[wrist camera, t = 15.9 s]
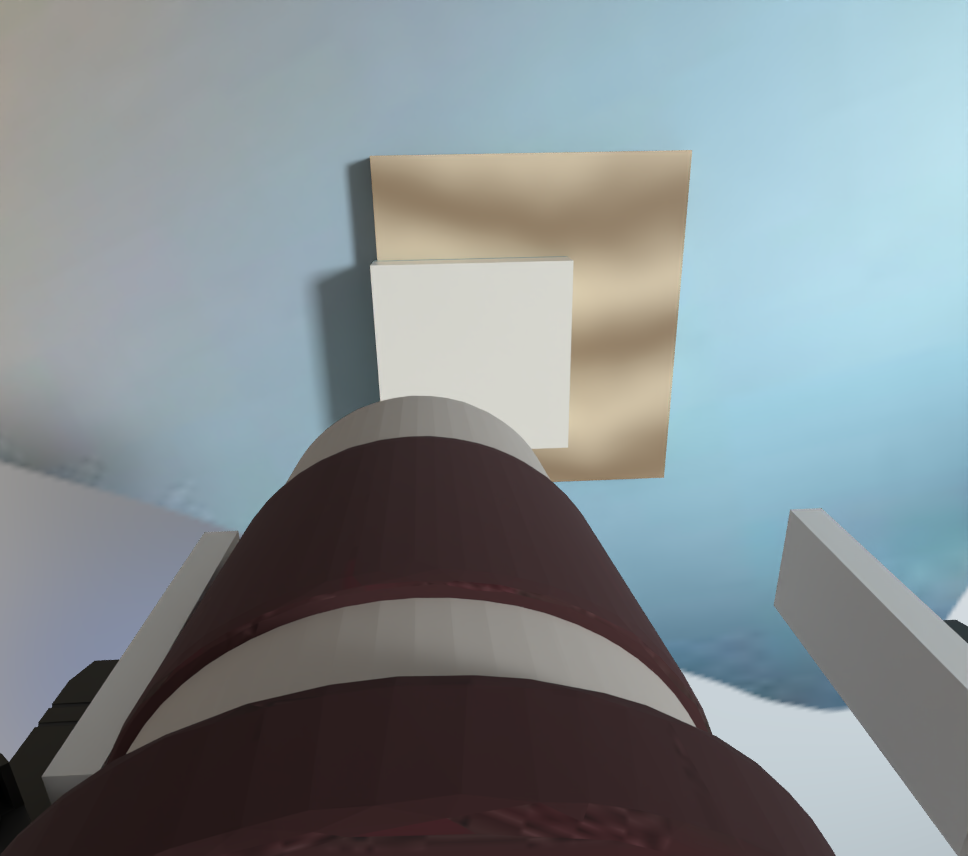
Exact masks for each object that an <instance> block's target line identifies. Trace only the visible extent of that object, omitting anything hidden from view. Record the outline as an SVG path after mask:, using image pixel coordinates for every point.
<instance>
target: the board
mask: <svg viewBox="0 0 968 856" xmlns="http://www.w3.org/2000/svg"><path fill="white" fill-rule="evenodd" d="M691 157H692V150H678V151H621V152H564V153H507V154H451V155H394V156H370V166H371V180H372V193H373V207H374V221H375V235H376V248H377V261H380V260H421V259H463V258H504V257H545V256H568V257H569V258H570V259H572V260H573V261H574V262H573V296H572V330H571V364H570V398H569V432H568V448H542V449H532V451H533V452H534V454H535V455H536V456H537V458H538V460H539V461H540V463H541V465H542V466H543V468H544V470H545V472H546V473H547V475H548V477H549V478H550V480H551V481H552V482H560V481H586V480H612V479H638V478H664V469H665V458H666V446H667V435H668V423H669V411H670V400H671V388H672V377H673V365H674V354H675V342H676V330H677V319H678V307H679V296H680V284H681V273H682V261H683V249H684V238H685V226H686V215H687V203H688V192H689V180H690V168H691Z"/></svg>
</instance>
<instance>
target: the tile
mask: <svg viewBox="0 0 968 856" xmlns="http://www.w3.org/2000/svg"><path fill="white" fill-rule="evenodd" d="M573 262H574V261H573V260H572V259H570V258H569V257H568V256H545V257H504V258H463V259H421V260H380V261H373V263H372V264H371V265H370V272H371V285H372V298H373V311H374V324H375V337H376V350H377V363H378V376H379V389H380V401H383V400H388V399H392V398H398V397H405V396H436V397H443V398H450V399H454V400H458V401H462V402H466V403H468V404H470V405H473V406H475V407H477V408H479V409H482V410H484V411H486V412H489V413H490V414H492V415H493V416H495V417H497V418H498V419H500V420H501V421H503V422H504V423H505V424H507V425H508V426H509V427H511V428H512V429H513V430H514V431H515V432H517V433H518V434H519V435H520V436H521V437H522V438H523V439H524V441H525V442H526V443H527V444H528V445H529V446H530V448H531V449H542V448H568V432H569V398H570V364H571V330H572V296H573Z"/></svg>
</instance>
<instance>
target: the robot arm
mask: <svg viewBox="0 0 968 856" xmlns="http://www.w3.org/2000/svg"><path fill="white" fill-rule="evenodd" d="M239 540H240V539H239V533H238V531H224V532H205V533H204V534H203V535H202V537H201V538H200V540H199V542H198V543H197V544H196V546H195V547H194V549H193V550H192V552H191V553H190V555H189V557H188V558H187V559H186V561H185V563H184V564H183V566H182V567H181V568H180V570H179V572H178V573H177V574H176V576H175V577H174V579H173V581H172V582H171V583H170V585H169V586H168V588H167V589H166V591H165V592H164V594H163V595H162V597H161V598H160V600H159V601H158V603H157V605H156V606H155V607H154V609H153V610H152V612H151V613H150V615H149V616H148V618H147V619H146V621H145V622H144V624H143V625H142V627H141V629H140V630H139V631H138V633H137V634H136V636H135V637H134V639H133V640H132V642H131V643H130V645H129V646H128V648H127V649H126V651H125V652H124V654H123V655H122V657H121V658H120V660H102V661H94V662H93V663H92V664H90V665H89V666H87V667H86V668H85V669H84V670H82V671H81V672H80V673H79V674H77V675H76V676H75V677H73V678H72V679H71V680H70V681H69V682H68V683H67V685H66V686H65V687H64V688H63V690H62V691H61V693H60V694H59V696H58V697H57V698H56V699H55V701H54V702H53V703H52V708H49V709H48V710H47V712H46V713H45V714H44V716H43V717H42V718H41V720H40V721H39V724H38V727H35V728H34V729H33V731H32V732H31V733H30V735H29V736H28V738H27V739H26V740H25V741H24V743H23V744H22V745H21V747H20V748H19V749H18V751H17V752H16V754H15V755H14V756H13V758H12V759H11V760H10V762H8V761H7V760H6V758H5V757H4V756H3V755H2V754H1V753H0V855H1V853H2V852H3V851H4V850H5V849H6V848H7V847H8V845H9V844H10V843H11V842H12V841H13V840H14V839H15V837H16V836H17V835H18V834H19V833H20V832H21V831H22V830H24V829H25V828H26V827H27V826H28V825H29V824H30V823H32V822H33V821H34V820H35V819H36V818H37V817H38V816H39V815H41V814H42V813H43V812H44V811H45V810H46V809H47V808H48V807H50V806H51V805H52V804H53V803H54V802H55V801H56V800H58V799H59V798H60V797H61V796H62V795H63V794H65V793H66V792H68V791H69V790H71V789H72V788H74V787H75V786H76V785H78V784H79V783H81V782H82V781H84V780H85V779H87V778H88V777H90V776H91V775H93V774H94V773H96V772H97V771H99V770H100V769H102V768H103V767H105V766H106V764H107V761H108V759H109V756H110V754H111V751H112V749H113V746H114V744H115V741H116V739H117V737H118V735H119V733H120V731H121V728H122V726H123V724H124V722H125V721H126V719H127V717H128V716H129V714H130V713H131V711H132V709H133V708H134V706H135V705H136V703H137V701H138V700H139V698H140V697H141V695H142V694H143V692H144V690H145V689H146V687H147V686H148V684H149V682H150V681H151V679H152V678H153V676H154V675H155V673H156V671H157V670H158V668H159V667H160V665H161V663H162V662H163V660H164V659H165V657H166V656H167V654H168V652H169V651H170V649H171V648H172V646H173V644H174V643H175V641H176V640H177V638H178V637H179V635H180V633H181V632H182V630H183V629H184V627H185V626H186V624H187V622H188V621H189V619H190V618H191V616H192V614H193V613H194V611H195V610H196V608H197V607H198V605H199V603H200V602H201V600H202V599H203V597H204V595H205V594H206V592H207V591H208V589H209V588H210V586H211V584H212V583H213V581H214V580H215V578H216V576H217V575H218V573H219V572H220V570H221V569H222V567H223V565H224V564H225V562H226V561H227V559H228V557H229V556H230V554H231V553H232V551H233V550H234V548H235V546H236V545H237V543H238V542H239ZM774 606H775V608H776V609H777V610H778V612H779V613H780V615H781V616H782V617H783V619H784V620H785V621H786V623H787V624H788V625H789V627H790V628H791V630H792V631H793V632H794V634H795V635H796V636H797V638H798V639H799V640H800V642H801V643H802V644H803V646H804V647H805V649H806V650H807V651H808V653H809V654H810V655H811V657H812V658H813V659H814V661H815V662H816V664H817V665H818V666H819V668H820V669H821V670H822V672H823V673H824V674H825V676H826V677H827V679H828V680H829V681H830V683H831V684H832V685H833V687H834V688H835V689H836V691H837V692H838V693H839V695H840V696H841V698H842V699H843V700H844V702H845V703H846V704H847V706H848V707H849V708H850V710H851V711H852V712H853V714H854V715H855V717H856V718H857V719H858V721H859V722H860V723H861V725H862V726H863V727H864V729H865V730H866V732H867V733H868V734H869V736H870V737H871V738H872V740H873V741H874V742H875V744H876V745H877V747H878V748H879V749H880V751H881V752H882V753H883V755H884V756H885V757H886V758H887V760H888V761H889V763H890V764H891V766H892V767H893V768H894V770H895V771H896V772H897V774H898V775H899V776H900V778H901V779H902V780H903V782H904V783H905V785H906V786H907V787H908V789H909V790H910V791H911V793H912V794H913V796H914V797H915V798H916V800H917V801H918V802H919V804H920V805H921V806H922V808H923V809H924V810H925V812H926V813H927V815H928V816H929V817H930V819H931V820H932V821H933V823H934V824H935V825H936V827H937V828H938V830H939V831H940V832H941V834H942V835H943V836H944V837H945V839H946V840H947V842H948V843H949V844H950V846H951V847H952V848H953V850H954V851H955V852H956V854H957V855H958V856H968V626H966V625H964V624H963V623H961V622H959V621H957V620H942V619H941V618H940V617H939V616H937V615H936V614H935V613H934V612H933V611H932V610H931V609H930V608H929V607H928V606H927V605H926V604H924V603H923V602H922V601H921V600H920V599H919V598H918V597H917V596H916V595H915V594H914V593H913V592H912V591H910V590H909V589H908V588H907V587H906V586H905V585H904V584H903V583H902V582H901V581H900V580H899V579H897V578H896V577H895V576H894V575H893V574H892V573H891V572H890V571H889V570H888V569H887V568H886V567H884V566H883V565H882V564H881V563H880V562H879V561H878V560H877V559H876V558H875V557H874V556H873V555H871V554H870V553H869V552H868V551H867V550H866V549H865V548H864V547H863V546H862V545H861V544H860V543H859V542H857V541H856V540H855V539H854V538H853V537H852V536H851V535H850V534H849V533H848V532H847V531H846V530H844V529H843V528H842V527H841V526H840V525H839V524H838V523H837V522H836V521H835V520H834V519H833V518H831V517H830V516H829V515H828V514H827V513H826V512H825V511H824V510H823V509H822V508H818V509H793V510H790V514H789V520H788V526H787V531H786V537H785V543H784V549H783V555H782V561H781V566H780V572H779V578H778V584H777V590H776V595H775V601H774Z"/></svg>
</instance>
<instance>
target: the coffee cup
mask: <svg viewBox="0 0 968 856" xmlns="http://www.w3.org/2000/svg"><path fill="white" fill-rule="evenodd" d="M0 856H835V854H834V852H833V850H832V849H831V847H830V845H829V844H828V842H827V841H826V839H825V838H824V837H823V835H822V833H821V832H820V831H819V829H818V828H817V826H816V824H815V823H814V822H813V820H812V819H811V817H810V816H809V815H808V814H807V813H806V812H805V811H804V810H803V808H802V807H801V806H800V805H799V804H798V803H797V801H796V800H795V799H794V798H793V797H792V796H791V795H790V793H789V792H787V791H786V790H785V789H784V788H783V787H782V786H781V785H780V784H779V783H778V782H777V781H776V780H775V779H773V778H772V777H771V776H770V775H769V774H768V773H767V772H766V771H765V770H764V769H763V768H762V767H761V766H759V765H758V764H757V763H756V762H754V761H753V760H751V759H750V758H748V757H747V756H745V755H744V754H742V753H741V752H739V751H738V750H736V749H735V748H733V747H732V746H730V745H729V744H727V743H726V742H724V741H723V740H721V739H720V738H718V737H717V736H714V735H712V732H711V730H710V727H709V724H708V721H707V719H706V716H705V714H704V711H703V708H702V707H701V705H700V703H699V701H698V699H697V698H696V696H695V694H694V693H693V691H692V689H691V687H690V685H689V684H688V682H687V680H686V678H685V676H684V675H683V673H682V672H681V670H680V669H679V667H678V665H677V664H676V662H675V661H674V659H673V657H672V656H671V654H670V653H669V651H668V650H667V648H666V646H665V645H664V643H663V642H662V640H661V638H660V637H659V635H658V634H657V632H656V631H655V629H654V627H653V626H652V624H651V623H650V621H649V619H648V618H647V616H646V615H645V613H644V612H643V610H642V608H641V607H640V605H639V604H638V602H637V600H636V599H635V597H634V596H633V594H632V593H631V591H630V589H629V588H628V586H627V585H626V583H625V581H624V580H623V578H622V577H621V575H620V573H619V572H618V570H617V569H616V567H615V566H614V564H613V562H612V561H611V559H610V558H609V556H608V554H607V553H606V551H605V550H604V548H603V547H602V545H601V543H600V542H599V540H598V539H597V537H596V535H595V534H594V532H593V531H592V529H591V528H590V526H589V524H588V523H587V521H586V520H585V518H584V516H583V515H582V514H581V512H580V511H579V510H578V508H577V507H576V506H575V505H574V504H573V502H572V501H571V500H570V499H569V498H568V496H567V495H566V494H565V493H564V492H563V491H561V490H560V489H559V488H558V487H557V486H556V485H555V484H554V483H553V482H552V481H551V480H550V478H549V477H548V475H547V473H546V472H545V470H544V468H543V466H542V465H541V463H540V461H539V460H538V458H537V456H536V455H535V454H534V452H533V451H532V449H531V448H530V446H529V445H528V444H527V443H526V442H525V441H524V439H523V438H522V437H521V436H520V435H519V434H518V433H517V432H515V431H514V430H513V429H512V428H511V427H509V426H508V425H507V424H505V423H504V422H503V421H501V420H500V419H498V418H497V417H495V416H493V415H492V414H490V413H489V412H486V411H484V410H482V409H479V408H477V407H475V406H473V405H470V404H468V403H466V402H462V401H458V400H454V399H450V398H443V397H436V396H405V397H398V398H392V399H388V400H383V401H379V402H376V403H373V404H370V405H368V406H365V407H362V408H360V409H357V410H355V411H354V412H352V413H350V414H348V415H347V416H345V417H343V418H342V419H340V420H339V421H337V422H336V423H334V424H333V425H332V426H330V427H329V428H328V429H326V430H325V431H324V432H323V433H322V434H321V435H320V436H319V437H318V438H317V439H316V440H315V441H314V442H313V443H312V444H311V445H310V447H309V448H308V449H307V451H306V452H305V453H304V455H303V456H302V458H301V459H300V460H299V462H298V464H297V466H296V467H295V469H294V471H293V472H292V474H291V476H290V477H289V479H288V481H287V482H286V484H285V485H284V486H283V487H282V488H281V489H279V490H278V491H277V492H276V493H275V494H274V495H273V496H272V497H271V498H270V499H269V500H268V501H267V502H266V504H265V505H264V506H263V507H262V508H261V510H260V511H259V512H258V513H257V515H256V516H255V517H254V518H253V520H252V521H251V523H250V524H249V526H248V528H247V529H246V531H245V532H244V534H243V535H242V537H241V539H240V540H239V542H238V543H237V545H236V546H235V548H234V550H233V551H232V553H231V554H230V556H229V557H228V559H227V561H226V562H225V564H224V565H223V567H222V569H221V570H220V572H219V573H218V575H217V576H216V578H215V580H214V581H213V583H212V584H211V586H210V588H209V589H208V591H207V592H206V594H205V595H204V597H203V599H202V600H201V602H200V603H199V605H198V607H197V608H196V610H195V611H194V613H193V614H192V616H191V618H190V619H189V621H188V622H187V624H186V626H185V627H184V629H183V630H182V632H181V633H180V635H179V637H178V638H177V640H176V641H175V643H174V644H173V646H172V648H171V649H170V651H169V652H168V654H167V656H166V657H165V659H164V660H163V662H162V663H161V665H160V667H159V668H158V670H157V671H156V673H155V675H154V676H153V678H152V679H151V681H150V682H149V684H148V686H147V687H146V689H145V690H144V692H143V694H142V695H141V697H140V698H139V700H138V701H137V703H136V705H135V706H134V708H133V709H132V711H131V713H130V714H129V716H128V717H127V719H126V721H125V722H124V724H123V726H122V728H121V731H120V733H119V735H118V737H117V739H116V741H115V744H114V746H113V749H112V751H111V754H110V756H109V759H108V761H107V764H106V766H105V767H103V768H102V769H100V770H99V771H97V772H96V773H94V774H93V775H91V776H90V777H88V778H87V779H85V780H84V781H82V782H81V783H79V784H78V785H76V786H75V787H74V788H72V789H71V790H69V791H68V792H66V793H65V794H63V795H62V796H61V797H60V798H59V799H58V800H56V801H55V802H54V803H53V804H52V805H51V806H50V807H48V808H47V809H46V810H45V811H44V812H43V813H42V814H41V815H39V816H38V817H37V818H36V819H35V820H34V821H33V822H32V823H30V824H29V825H28V826H27V827H26V828H25V829H24V830H22V831H21V832H20V833H19V834H18V835H17V836H16V837H15V839H14V840H13V841H12V842H11V843H10V844H9V845H8V847H7V848H6V849H5V850H4V851H3V852H2V853H1V855H0Z"/></svg>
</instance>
